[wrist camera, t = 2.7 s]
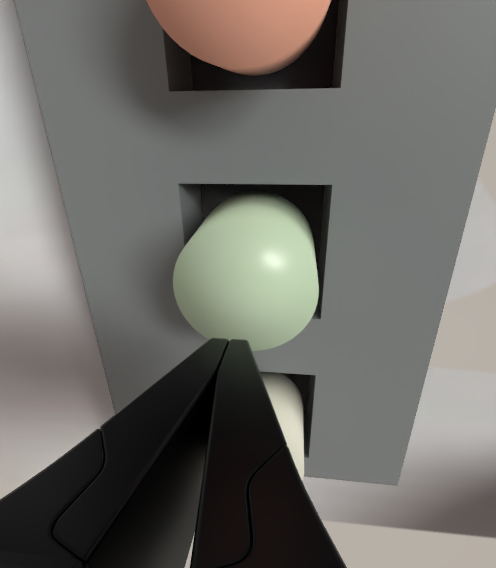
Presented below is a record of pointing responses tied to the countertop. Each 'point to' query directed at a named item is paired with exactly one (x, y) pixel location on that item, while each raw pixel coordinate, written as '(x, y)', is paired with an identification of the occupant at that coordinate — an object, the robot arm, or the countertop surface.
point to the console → (276, 170)
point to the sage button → (249, 272)
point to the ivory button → (288, 413)
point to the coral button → (242, 30)
